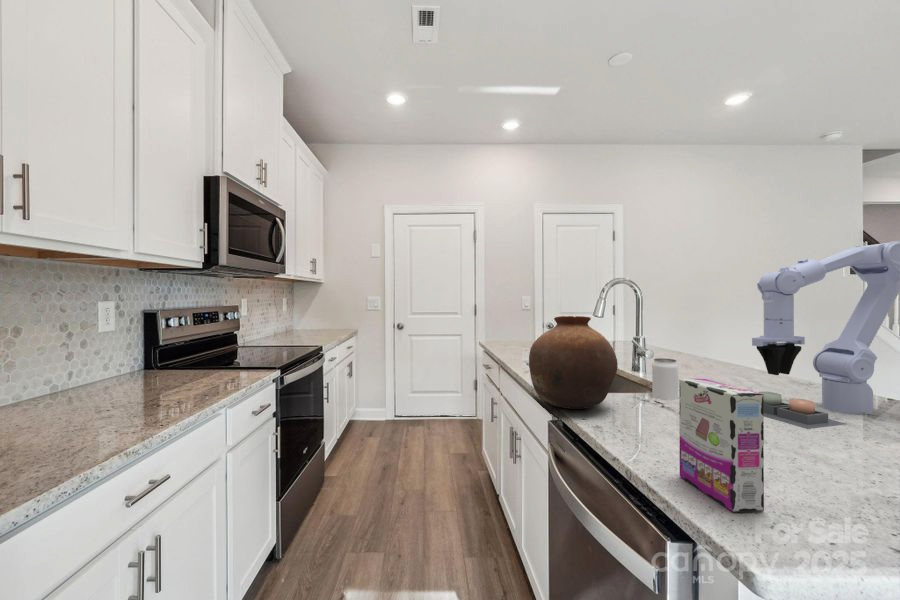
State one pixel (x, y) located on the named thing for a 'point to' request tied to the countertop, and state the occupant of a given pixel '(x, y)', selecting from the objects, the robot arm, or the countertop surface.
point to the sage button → (771, 398)
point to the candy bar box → (723, 443)
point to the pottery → (572, 364)
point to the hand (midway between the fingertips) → (778, 374)
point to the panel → (799, 417)
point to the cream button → (744, 387)
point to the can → (665, 379)
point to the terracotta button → (802, 406)
